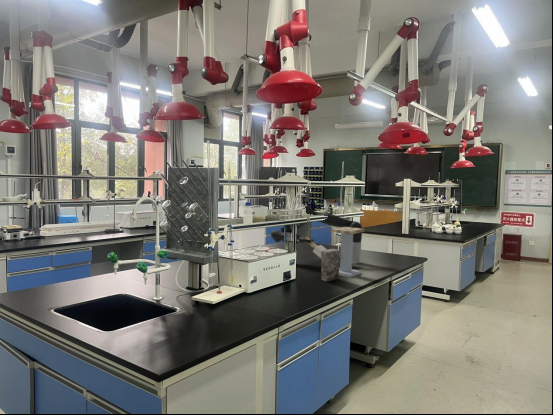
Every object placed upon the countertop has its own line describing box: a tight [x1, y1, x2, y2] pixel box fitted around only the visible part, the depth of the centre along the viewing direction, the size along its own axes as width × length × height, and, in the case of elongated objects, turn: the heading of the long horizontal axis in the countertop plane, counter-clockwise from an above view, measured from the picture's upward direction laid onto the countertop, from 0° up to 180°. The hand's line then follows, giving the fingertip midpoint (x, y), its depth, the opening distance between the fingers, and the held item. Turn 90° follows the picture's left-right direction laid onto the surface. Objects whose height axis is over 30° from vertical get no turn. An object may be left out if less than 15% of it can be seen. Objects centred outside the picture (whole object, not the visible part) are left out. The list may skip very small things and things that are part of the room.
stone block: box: [320, 248, 341, 282], centre depth 254 cm, size 13×7×20 cm, turn 136°
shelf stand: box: [329, 227, 366, 279], centre depth 272 cm, size 16×22×32 cm
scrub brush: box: [303, 235, 328, 259], centre depth 287 cm, size 23×8×5 cm
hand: (311, 241), depth 289 cm, fingers closed on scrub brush, 2 cm apart
